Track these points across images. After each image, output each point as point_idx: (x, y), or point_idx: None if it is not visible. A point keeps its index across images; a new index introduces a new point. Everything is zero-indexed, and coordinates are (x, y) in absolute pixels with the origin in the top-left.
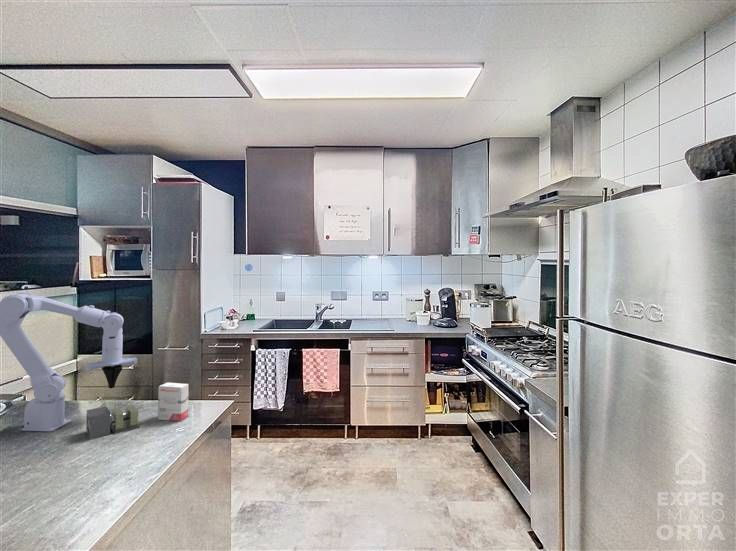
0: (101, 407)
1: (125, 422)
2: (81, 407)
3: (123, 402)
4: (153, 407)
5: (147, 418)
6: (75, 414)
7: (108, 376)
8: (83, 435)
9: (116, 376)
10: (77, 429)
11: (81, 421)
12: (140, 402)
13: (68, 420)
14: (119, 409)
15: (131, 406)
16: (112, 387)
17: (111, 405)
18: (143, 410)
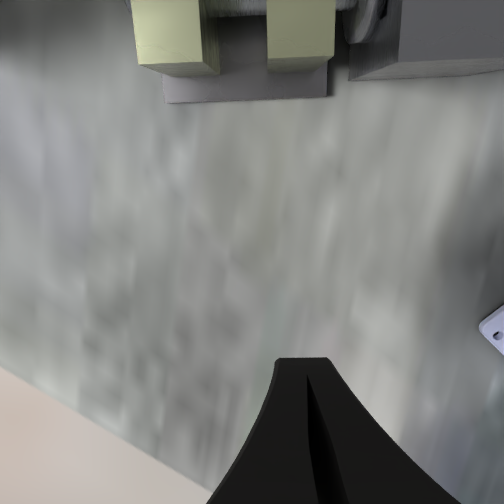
0: (446, 46)
1: (226, 45)
2: None
3: (184, 449)
4: (31, 266)
5: (79, 67)
6: (428, 418)
7: (431, 499)
8: None
9: (256, 478)
10: (490, 164)
11: (434, 291)
12: (99, 397)
13: (498, 327)
14: (272, 4)
15: (156, 27)
16: (300, 360)
17: None
18: (93, 250)
